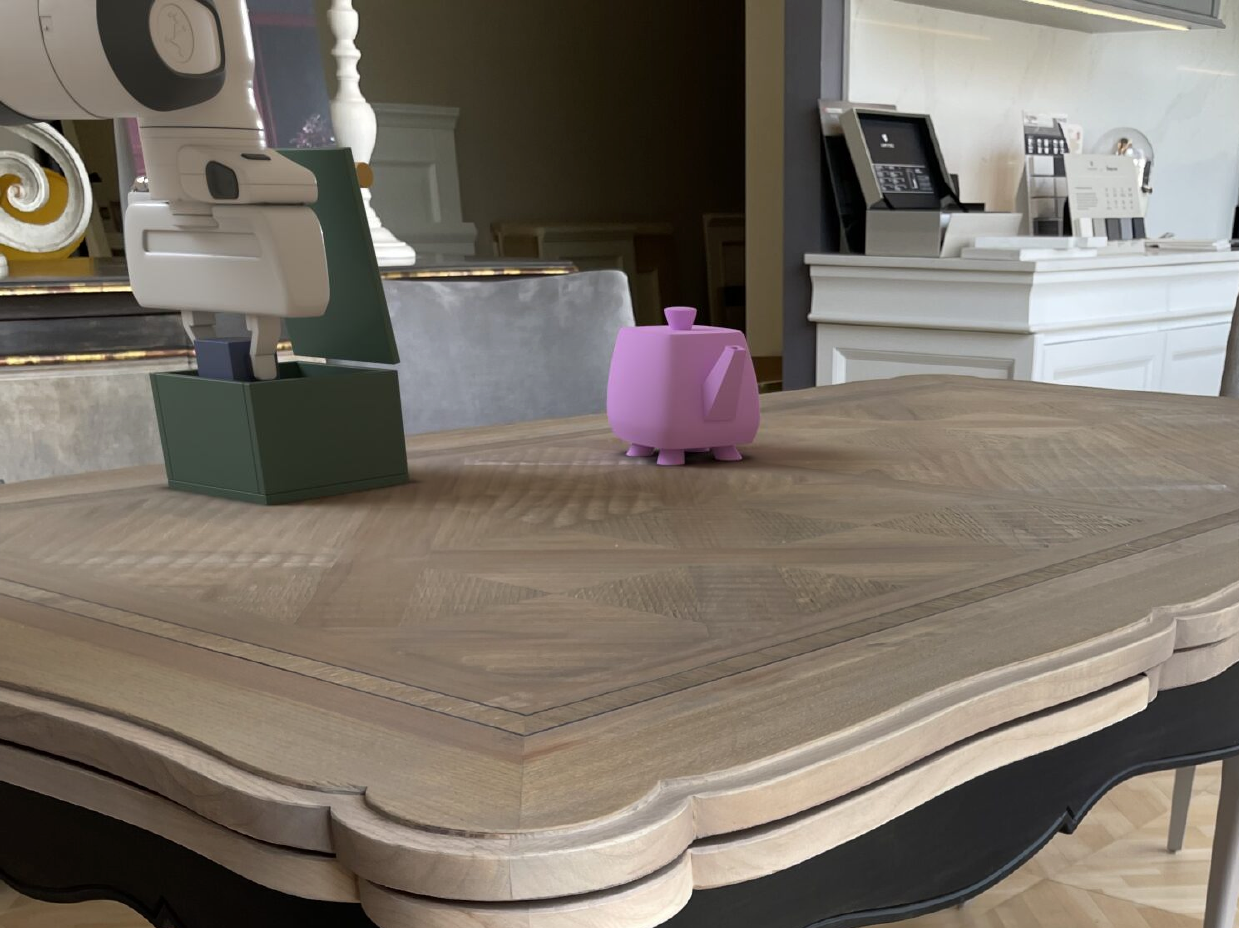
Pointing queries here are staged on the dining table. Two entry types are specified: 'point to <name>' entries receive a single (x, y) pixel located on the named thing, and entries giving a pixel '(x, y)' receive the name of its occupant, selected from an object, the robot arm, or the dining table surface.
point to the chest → (282, 432)
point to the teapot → (682, 389)
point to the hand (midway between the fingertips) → (239, 377)
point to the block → (225, 358)
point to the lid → (344, 266)
